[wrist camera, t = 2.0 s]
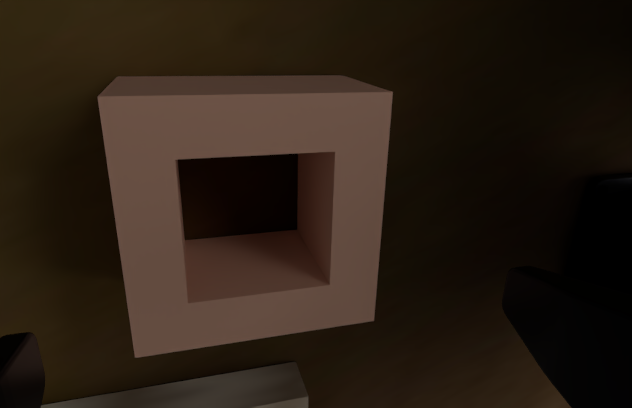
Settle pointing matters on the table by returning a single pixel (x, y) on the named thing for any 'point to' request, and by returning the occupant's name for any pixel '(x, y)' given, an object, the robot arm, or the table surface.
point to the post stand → (211, 392)
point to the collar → (250, 249)
